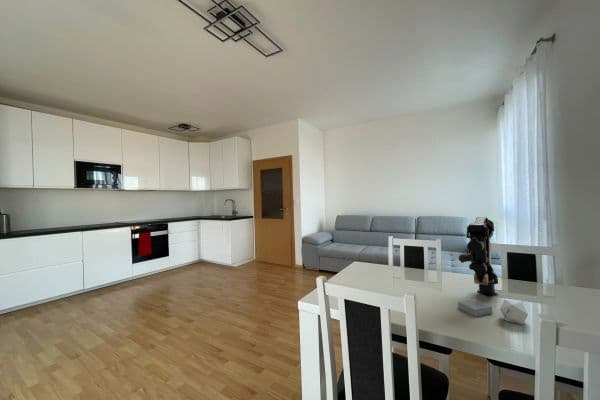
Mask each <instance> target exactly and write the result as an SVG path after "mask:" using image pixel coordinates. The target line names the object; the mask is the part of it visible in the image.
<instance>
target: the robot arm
mask: <svg viewBox="0 0 600 400" xmlns="http://www.w3.org/2000/svg"><path fill="white" fill-rule="evenodd" d="M494 232H495V224H494V221H493V220H490V219H489V217H488V216H477V217H475V221H474V222H470V223H469V224H468V225H467V227H466V239H470V240H469V242H467V245H466V246H467V249H468V251H470V252H469V253H462V254H460V255H458V261H459V262H460V263H463V264H464V263H465V262H470V264H468V266H469V267H468V268H469V269H468V270H470V271H473V272H474V274H475V273H476V275H477V278H478V280H479V282H481V283H482V281H483V279H484V276H485V274H488V285H482V284H478V290H476V292H477V293H479V294H481V295H484V296H487V297H491V296H492V297H493V296H497V295H499V294H498V293H497V292H496V291H495V290H496V288H495V285H498V284H499V279H498V275H497V274H496V272H495V270H494V268H493V267H492V265H491V252H490V251H491V249H490V248H491V245H490V244H491V243H490V241H491V238H492V237H493V236H494Z"/></svg>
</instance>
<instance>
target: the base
mask: <svg viewBox="0 0 600 400" xmlns="http://www.w3.org/2000/svg"><path fill="white" fill-rule="evenodd" d="M457 308H458V309H460V310H461V311H463V312H466V313H467V314H469V315H471V316H474V317H481V316H486V315H491V314H493V307H492V306H491V305H489V304H486V303H484V302H482V301H479V300H477V299H475V298H470V299H465V300H458V301H457Z"/></svg>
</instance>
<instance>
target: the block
mask: <svg viewBox="0 0 600 400" xmlns="http://www.w3.org/2000/svg"><path fill="white" fill-rule="evenodd" d="M473 281H474V282H473V283H474V284H475V285H479V284H482V285H488V274H485V276H484V279H483V281H482V283H481V282H479V280H478V278H477V275H476V273H475V272H474V274H473Z"/></svg>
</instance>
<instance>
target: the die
mask: <svg viewBox="0 0 600 400" xmlns="http://www.w3.org/2000/svg"><path fill="white" fill-rule="evenodd" d="M499 310H500V312H501V315H502V316H503V318H504V320H505V321H506V322H510V323H512V324H513V323H514V324H519V325H524V324H525V322H526V319H527V318H528V316H529V314H528V312H527V310H526V309H525V307H524V304H523V303H522V302H521V301H517V300H511V299H504V300H503V301H502V303H501V305H500V308H499Z"/></svg>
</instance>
